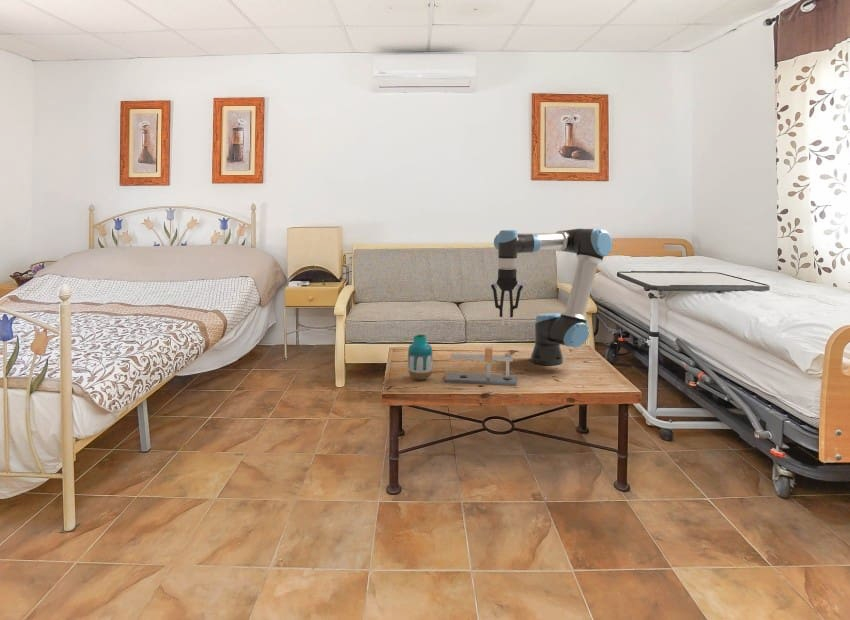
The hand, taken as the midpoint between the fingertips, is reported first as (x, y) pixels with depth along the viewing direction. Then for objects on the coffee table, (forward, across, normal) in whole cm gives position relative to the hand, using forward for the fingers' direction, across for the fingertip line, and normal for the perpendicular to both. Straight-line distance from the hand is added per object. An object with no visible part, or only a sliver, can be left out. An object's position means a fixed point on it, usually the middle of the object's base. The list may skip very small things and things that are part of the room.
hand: (506, 324), depth 219 cm
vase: (+25, +36, +2) cm, 44 cm away
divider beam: (+23, +10, 0) cm, 25 cm away
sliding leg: (+23, +7, 0) cm, 24 cm away
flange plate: (+24, +10, 0) cm, 26 cm away
